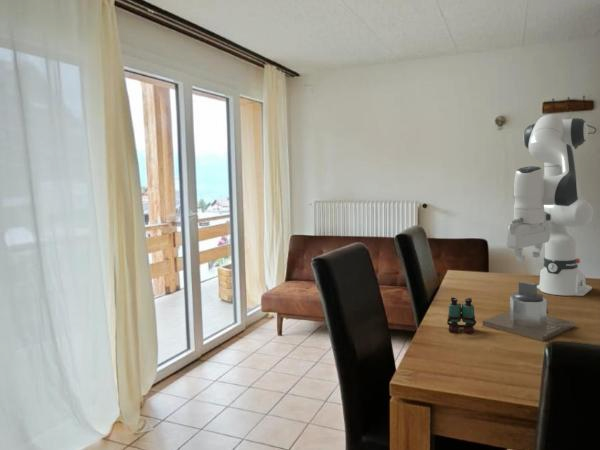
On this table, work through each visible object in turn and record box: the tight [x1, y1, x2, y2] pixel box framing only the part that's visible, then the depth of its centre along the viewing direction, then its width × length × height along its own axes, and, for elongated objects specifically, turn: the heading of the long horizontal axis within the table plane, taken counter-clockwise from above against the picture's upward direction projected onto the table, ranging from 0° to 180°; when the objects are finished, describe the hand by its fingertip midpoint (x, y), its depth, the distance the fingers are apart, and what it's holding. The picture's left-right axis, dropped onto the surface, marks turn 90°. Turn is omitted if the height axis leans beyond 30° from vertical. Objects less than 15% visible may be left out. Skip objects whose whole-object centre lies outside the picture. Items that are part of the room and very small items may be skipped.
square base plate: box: [482, 294, 576, 342], centre depth 148 cm, size 20×20×10 cm
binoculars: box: [446, 297, 477, 335], centre depth 146 cm, size 9×11×10 cm
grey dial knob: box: [512, 281, 544, 302], centre depth 147 cm, size 9×9×7 cm
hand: (528, 259), depth 146 cm, fingers open, 8 cm apart
